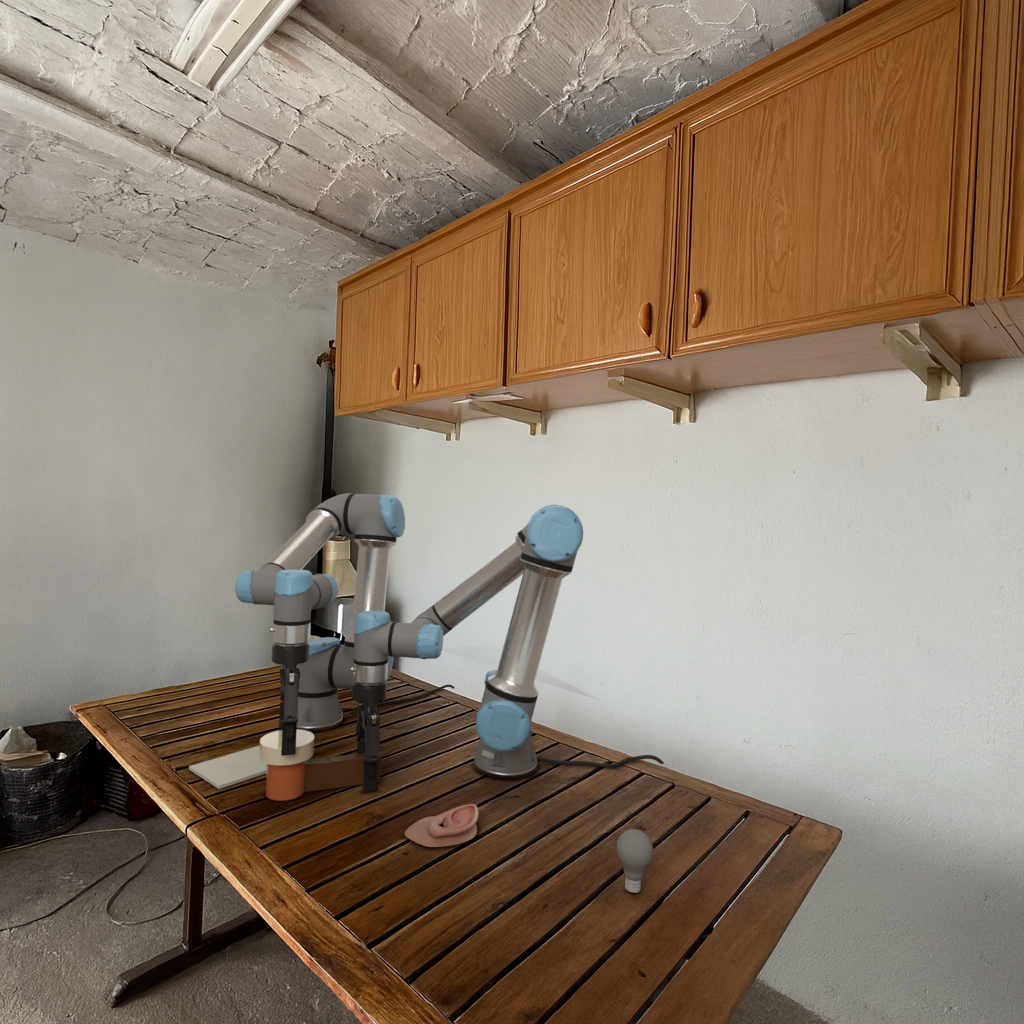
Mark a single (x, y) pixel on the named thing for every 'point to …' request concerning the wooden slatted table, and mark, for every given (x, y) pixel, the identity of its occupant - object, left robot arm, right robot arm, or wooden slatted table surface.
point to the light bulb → (634, 857)
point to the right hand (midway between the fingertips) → (365, 780)
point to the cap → (273, 746)
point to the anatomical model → (445, 827)
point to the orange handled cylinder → (315, 776)
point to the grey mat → (231, 768)
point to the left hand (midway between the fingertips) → (286, 742)
